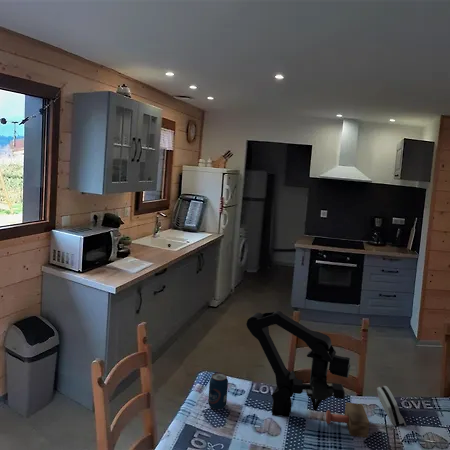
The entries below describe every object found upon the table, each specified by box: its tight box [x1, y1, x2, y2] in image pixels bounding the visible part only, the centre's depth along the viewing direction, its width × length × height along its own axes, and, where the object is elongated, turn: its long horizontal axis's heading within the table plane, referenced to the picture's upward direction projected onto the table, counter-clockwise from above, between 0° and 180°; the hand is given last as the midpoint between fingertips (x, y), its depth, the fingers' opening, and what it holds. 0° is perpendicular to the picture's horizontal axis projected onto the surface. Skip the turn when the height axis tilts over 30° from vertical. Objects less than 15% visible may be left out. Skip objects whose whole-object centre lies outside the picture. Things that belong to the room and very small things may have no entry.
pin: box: [325, 410, 349, 425], centre depth 161 cm, size 10×4×4 cm, turn 85°
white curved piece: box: [376, 385, 407, 427], centre depth 171 cm, size 17×5×10 cm, turn 177°
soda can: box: [207, 372, 229, 410], centre depth 167 cm, size 7×7×12 cm
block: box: [344, 401, 370, 439], centre depth 160 cm, size 6×12×6 cm, turn 175°
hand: (314, 410), depth 161 cm, fingers closed
